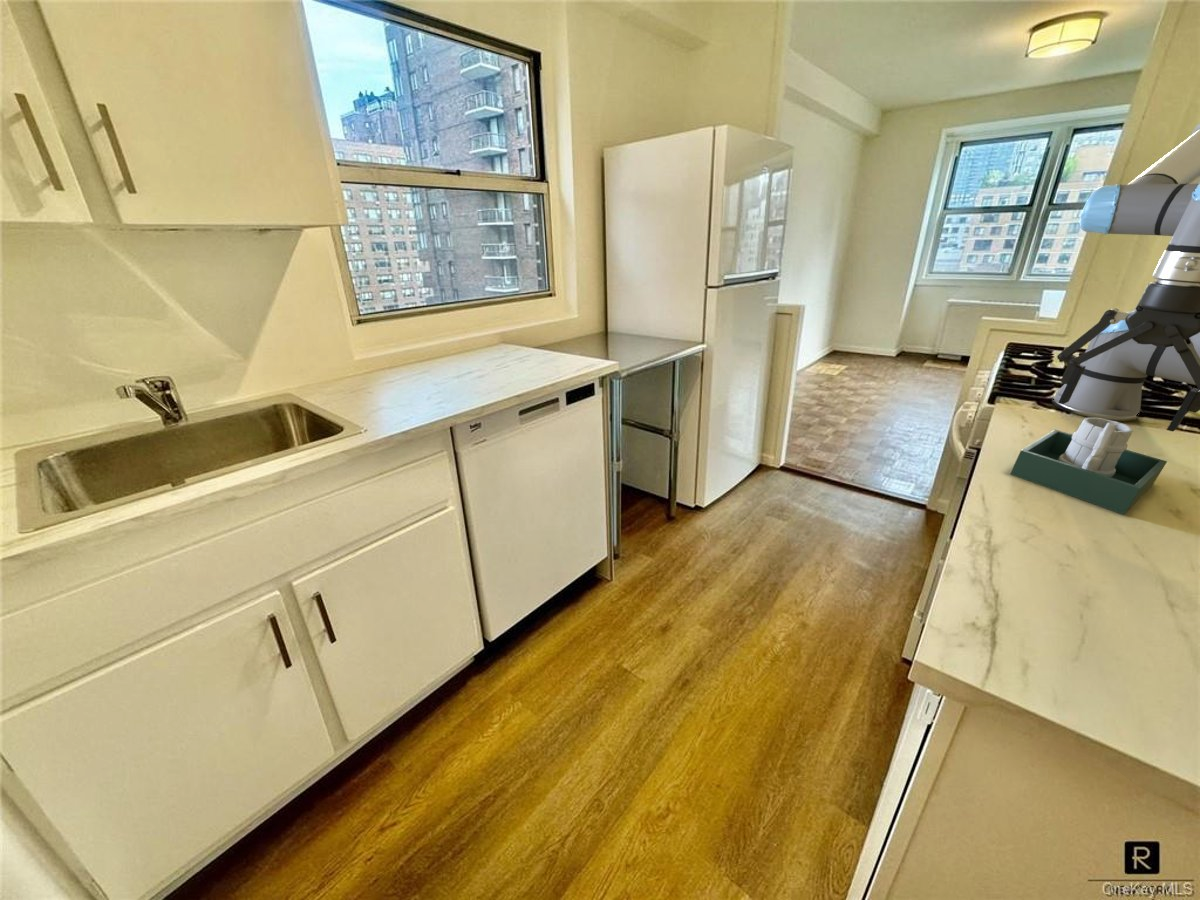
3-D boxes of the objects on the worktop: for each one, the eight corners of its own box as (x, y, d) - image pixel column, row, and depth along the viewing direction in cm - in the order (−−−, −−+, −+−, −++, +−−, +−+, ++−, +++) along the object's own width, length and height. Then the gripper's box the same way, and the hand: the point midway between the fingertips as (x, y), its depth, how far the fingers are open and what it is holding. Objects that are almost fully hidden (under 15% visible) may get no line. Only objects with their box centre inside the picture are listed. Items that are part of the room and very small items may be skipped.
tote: (1044, 451, 97) (1054, 429, 95) (1152, 485, 86) (1167, 461, 83) (1009, 474, 89) (1020, 450, 87) (1124, 515, 78) (1140, 488, 75)
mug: (1110, 473, 88) (1145, 413, 83) (1108, 498, 81) (1146, 434, 75) (1056, 459, 93) (1085, 401, 88) (1050, 481, 86) (1081, 419, 80)
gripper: (1070, 274, 79) (1017, 396, 89) (1322, 298, 61) (1221, 448, 70) (1085, 272, 83) (1033, 389, 92) (1327, 293, 64) (1230, 436, 74)
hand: (1114, 414), depth 81 cm, fingers open, 13 cm apart
